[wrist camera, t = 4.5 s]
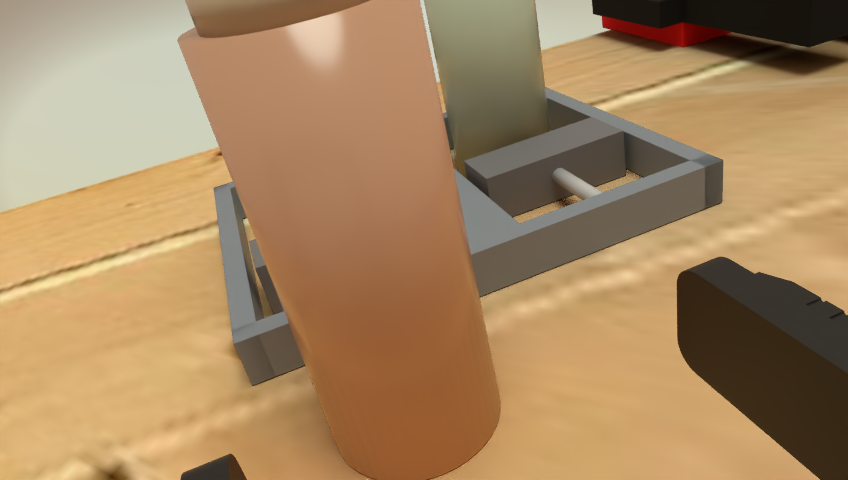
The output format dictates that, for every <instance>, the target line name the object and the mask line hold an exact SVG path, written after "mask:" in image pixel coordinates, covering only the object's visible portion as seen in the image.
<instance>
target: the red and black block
mask: <svg viewBox="0 0 848 480" xmlns="http://www.w3.org/2000/svg"><path fill="white" fill-rule="evenodd" d="M592 6H593V14H596V15H600V16H602V24H603V28H606V29H610V30H611V29H613V30H616V31H620V32H624V33H628V34H632V35H636V36H640V37H644V38H648V39H652V40H656V41H660V42H664V43H668V44H672V45H676V46H680V47H686V46H689V45H693V44H696V43H699V42H702V41H706V40H709V39H712V38H715V37H719V36H722V35H725V34H728V33H731V32H735V33H740V34H745V35H750V36H755V37H760V38H765V39H770V40H775V41H780V42H785V43H790V44H795V45H800V46H805V47H812V46H815V45H818V44H821V43H824V42H827V41H831V40H834V39H837V38H840V37H843V36H846V35H848V0H592Z"/></svg>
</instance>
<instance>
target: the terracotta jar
mask: <svg viewBox="0 0 848 480" xmlns="http://www.w3.org/2000/svg"><path fill="white" fill-rule="evenodd" d="M185 1H186V4H187V6H188V9H189V12H190V14H191V17H192V20H193V22H194V25H195V28H193V29H191V30H189V31H187V32H185V33H184V34H182V35H181V36H180V37H179V38H178V40H177V41H178V43H179V46H180V48H181V51H182V53H183V56H184V58H185V61H186V64H187V66H188V69H189V71H190V74H191V76H192V79H193V81H194V84H195V86H196V89H197V91H198V94H199V97H200V99H201V102H202V104H203V107H204V109H205V112H206V114H207V117H208V119H209V122H210V125H211V127H212V130H213V132H214V135H215V137H216V140H217V142H218V145H219V147H220V150H221V152H222V155H223V158H224V160H225V163H226V165H227V168H228V170H229V173H230V175H231V178H232V180H233V183H234V185H235V188H236V191H237V193H238V196H239V198H240V201H241V203H242V206H243V208H244V211H245V213H246V216H247V219H248V221H249V224H250V226H251V229H252V231H253V234H254V236H255V239H256V241H257V244H258V246H259V249H260V252H261V254H262V257H263V259H264V262H265V264H266V267H267V269H268V272H269V274H270V277H271V279H272V282H273V285H274V287H275V290H276V292H277V295H278V297H279V300H280V302H281V305H282V307H283V310H284V312H285V315H286V318H287V320H288V323H289V325H290V328H291V330H292V333H293V335H294V338H295V340H296V343H297V346H298V348H299V351H300V353H301V356H302V358H303V361H304V363H305V366H306V368H307V371H308V373H309V376H310V379H311V381H312V384H313V386H314V389H315V391H316V394H317V396H318V399H319V401H320V404H321V406H322V409H323V412H324V414H325V417H326V419H327V422H328V424H329V427H330V429H331V432H332V434H333V437H334V440H335V442H336V445H337V447H338V449H339V452H340V454H341V455H342V457H343V458H344V460H345V461H346V462H347V463H348V464H349V465H350V466H351V467H352V468H353V469H355V470H356V471H358V472H359V473H361V474H363V475H365V476H367V477H370V478H373V479H376V480H427V479H430V478H434V477H437V476H440V475H442V474H445V473H447V472H449V471H451V470H453V469H455V468H457V467H459V466H461V465H462V464H464V463H465V462H467V461H468V460H469V459H471V458H472V457H473V456H474V455H475V454H477V453H478V452H479V451H480V450H481V449H482V447H483V446H484V445H485V444H486V443H487V441H488V440H489V439H490V437H491V436H492V434H493V432H494V430H495V428H496V426H497V423H498V420H499V416H500V408H501V402H500V396H499V391H498V386H497V381H496V376H495V371H494V366H493V361H492V356H491V351H490V346H489V341H488V336H487V331H486V326H485V321H484V316H483V311H482V306H481V301H480V296H479V291H478V286H477V281H476V276H475V271H474V266H473V261H472V256H471V252H470V247H469V242H468V237H467V232H466V227H465V222H464V217H463V212H462V207H461V202H460V197H459V192H458V187H457V182H456V177H455V172H454V167H453V162H452V157H451V152H450V147H449V142H448V137H447V132H446V127H445V122H444V117H443V113H442V108H441V103H440V98H439V93H438V88H437V83H436V78H435V73H434V68H433V63H432V58H431V53H430V48H429V43H428V38H427V34H426V28H425V23H424V18H423V13H422V8H421V4H420V0H185Z"/></svg>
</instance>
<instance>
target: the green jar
mask: <svg viewBox="0 0 848 480" xmlns="http://www.w3.org/2000/svg"><path fill="white" fill-rule="evenodd" d="M424 3H425V8H426V13H427V17H428V23H429V28H430V32H431V38H432V43H433V48H434V53H435V58H436V63H437V68H438V73H439V78H440V83H441V88H442V93H443V98H444V103H445V108H446V113H447V118H448V123H449V128H450V133H451V138H452V143H453V148H454V153H455V158H456V163H457V168H458V171H459V173H460V174H461V175H463V176H464V177H466V178H467V175H466V170H465V165H464V161H465V160H468V159H471V158H474V157H477V156H479V155H482V154H485V153H488V152H491V151H494V150H497V149H500V148H503V147H506V146H509V145H512V144H514V143H517V142H520V141H523V140H526V139H529V138H532V137H535V136H538V135H541V134H544V133H547V132H549V131H550V124H549V116H548V107H547V99H546V90H545V82H544V73H543V65H542V56H541V48H540V39H539V31H538V22H537V14H536V6H535V0H424Z"/></svg>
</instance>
